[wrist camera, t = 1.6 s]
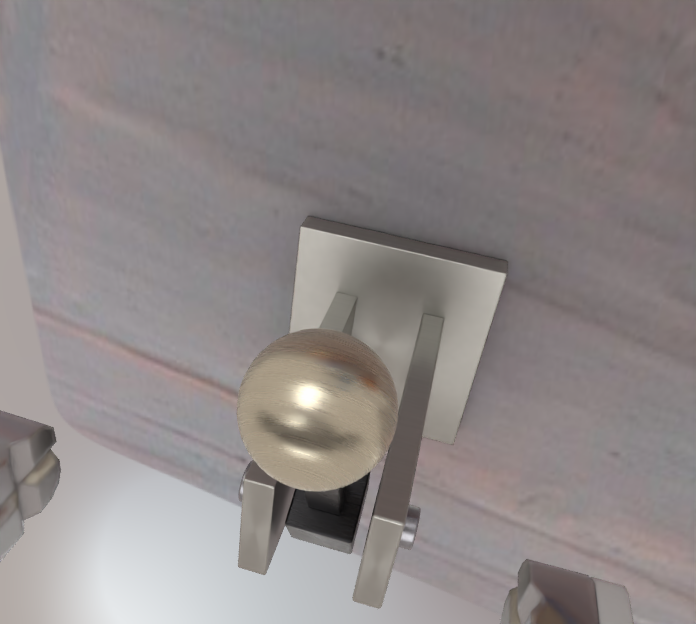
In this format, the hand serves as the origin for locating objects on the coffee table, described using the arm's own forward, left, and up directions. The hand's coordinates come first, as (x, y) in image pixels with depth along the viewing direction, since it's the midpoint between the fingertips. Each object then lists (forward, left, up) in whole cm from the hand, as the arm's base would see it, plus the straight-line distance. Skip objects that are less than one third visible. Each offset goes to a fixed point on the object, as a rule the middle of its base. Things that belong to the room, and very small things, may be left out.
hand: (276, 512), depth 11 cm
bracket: (+8, 0, -19) cm, 20 cm away
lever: (+3, 0, -6) cm, 7 cm away
